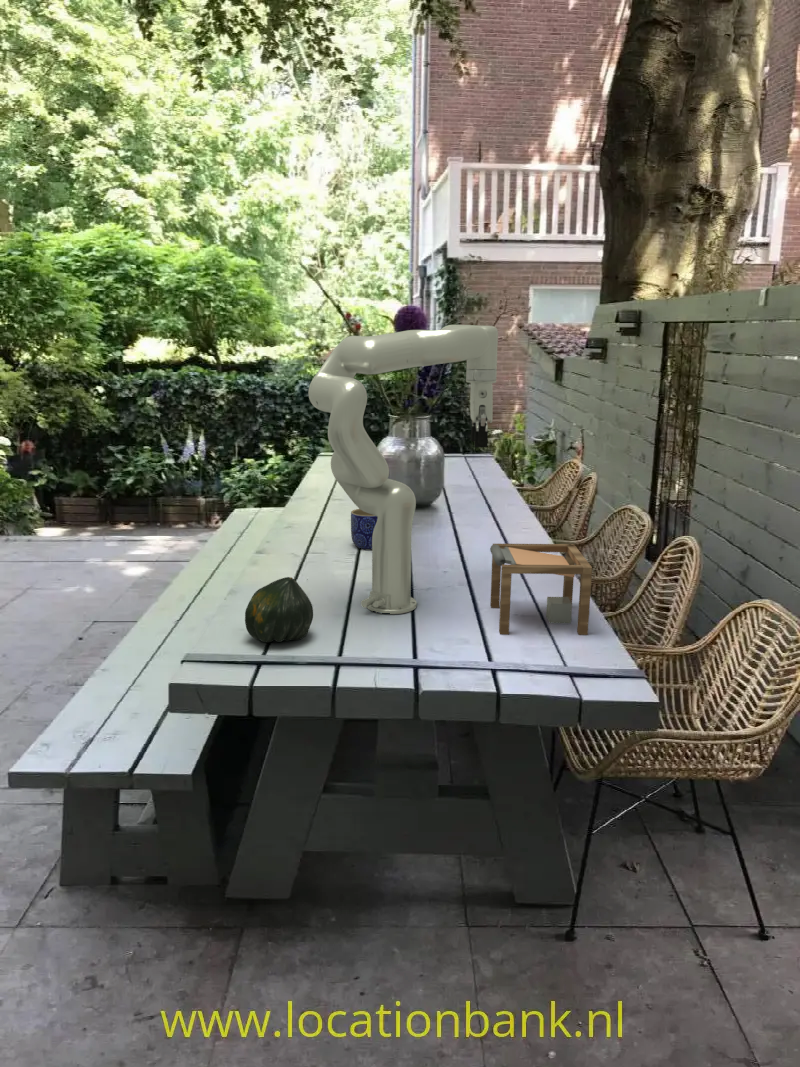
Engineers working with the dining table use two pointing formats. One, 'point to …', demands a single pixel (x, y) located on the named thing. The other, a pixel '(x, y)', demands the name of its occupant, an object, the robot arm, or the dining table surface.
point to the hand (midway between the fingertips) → (479, 444)
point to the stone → (559, 610)
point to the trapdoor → (525, 557)
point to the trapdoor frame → (571, 557)
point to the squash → (279, 612)
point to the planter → (362, 528)
